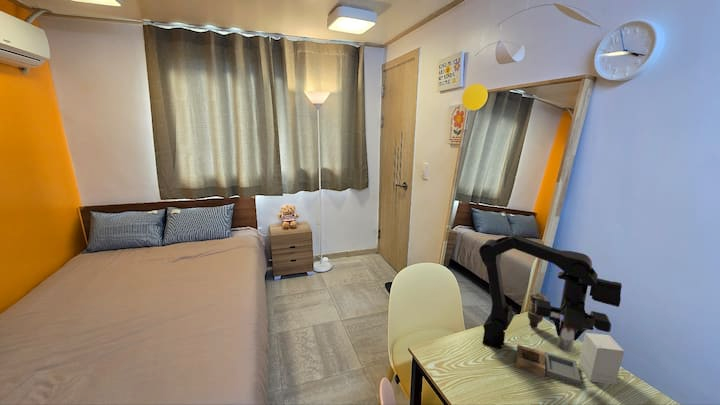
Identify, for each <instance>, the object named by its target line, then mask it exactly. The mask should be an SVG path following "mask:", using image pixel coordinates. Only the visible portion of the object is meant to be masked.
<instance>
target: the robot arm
mask: <svg viewBox="0 0 720 405" xmlns="http://www.w3.org/2000/svg"><path fill="white" fill-rule="evenodd" d="M510 250H517V251H519V252H521V253H525V254H527V255H530V256H533V257H534V258H535V257H536V258H538V259H540V260H543V261H546V262H548V263H551V264H553V265H555V266H556V267H558V268H559V269H560V270H562V271H559V272H558V276H557V278H558V279H560V280H564V282H563V289H562V293H561V300H560V307H555V306H552V305H551V301H548V300H547V301H544V300H540V299H538V300H536V303H535V311H536V314H537V315H539V316H543V318H548V319H549V320H550V321H552V322H553V324H554V327H555V330H556V334H557V336H558V337H559V334H560V325H561V318H560V316H563V318H562V319H564V325H565V326H566V327H568V328H573V329H576V332H575V338H574V342H576V341H577V340H578V339H579V338H580V336H582V334H583V333H584V332H585V331H589V330H590V331H594V329H596V330H597V331H600V332H601V331H602V332H606V333H610V332H611V330H612V324H611V321H610V318H609V317H608V315H607V314H606V313H603V312H598V311H593V310H591V311H590V313H588V312H586V309H585V307H586V297H587V294H588V295H589V297H591V300H593V301H595V302H599V303H602V304H606V305H609V306H613V307H617V308H618V307H620V304H621V301H622V299H621V294H622V293H621V292H622V287H623V286H622V283H621V282H617V281H611V280H607V279H603V278H598V273H597V272H596V271H595V269H594V267H593V264H592V259H591V258H590V256H588V255H587V254H584V253H581V252H578V251H573V250H560V249H556V248H555V247H552V246H548V245H545V244H542V243H540V242H537V241H534V240H531V239H529V238H525V237H522V236H520V235H518V234H517V233H512V234H510V235H508V236H504V237H499V238H497V239H492V238H491V239H488V240H486V241H485V242H484V243H483V244H482V245H481V246H480V247H479V250H478V252H479V256H480V259H481V262H482V263H483V264H484V266H485V267H486V273H487V279H488V286H489V292H490V299H491V305H492V306H491V311H490V314H489V315H488V317H487V319H486V320H485V322H484V323H483V325H482V327H483V330H484V331H483V338H482V344H483V345H486V346H489V347H492V348H495V349H498V350H502V349H503V346H505V344H504V343H505V337H506V336H505V335H506V332H505V331H506V330H508V328H509V326H510V325H511V323H512V321H513V318H514V317H515V315H514V313H513V306H512V305H508V303H507V302H506V297H505V290H504V284H503V279H502V278H503V277H502V272H501V265H500V264H501V260H502V254H504V253H506V252H508V251H510ZM588 287H590V288H589V293H588Z"/></svg>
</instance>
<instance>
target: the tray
mask: <svg viewBox="0 0 720 405" xmlns="http://www.w3.org/2000/svg"><path fill="white" fill-rule="evenodd" d="M543 352H544V359H545V368H546V369H545V376H548V377H551V378H554V379H557V380H560V381H564V382H567V383H570V384H573V385H576V386H578V387H580V386H581V377H580V376H581V375H580V372H579V368H578V364H577V361H576V360H574V359H570V358H567V357H563V356H560V355H558V354H557V355H555V354H554V353H550V352H547V351H543Z"/></svg>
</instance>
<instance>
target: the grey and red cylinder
mask: <svg viewBox="0 0 720 405" xmlns="http://www.w3.org/2000/svg"><path fill="white" fill-rule="evenodd" d="M575 332H576V329H573V328H568V327H566V326H565V325H564V318H562V319H560V334H559V336H558V339H557V343H556V345H557V348H559V349H560V350H561V351H565V352H568V353H569V352H572V351H573V347H574V342H575V340H574V338H575Z"/></svg>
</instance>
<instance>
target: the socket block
mask: <svg viewBox="0 0 720 405" xmlns="http://www.w3.org/2000/svg"><path fill="white" fill-rule="evenodd" d="M516 346H517V347H516V354H515V355H516V356H515V357H516V361H515V364H516V369H517V368H518V369H520V370H523V371H526V372H528V373H532V374H536V375H537V376H541V377H545V376H546V373H545V369H546V368H545V359H544V352H545V351H540V350H538V349H534V348H531V347H528V346H525V345H521V344H517V345H516ZM523 357H525V358H527V359H525V358H523ZM528 359H530V360H531V361H530V360H528ZM532 360H533V361H532ZM535 361H537V362H535Z"/></svg>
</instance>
